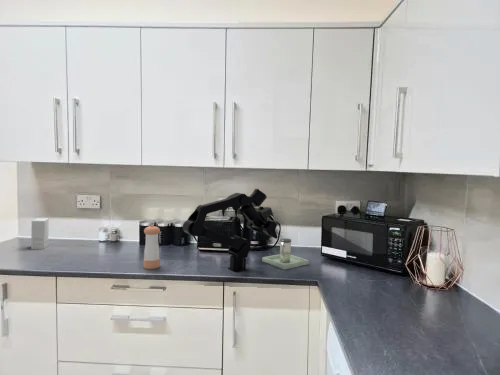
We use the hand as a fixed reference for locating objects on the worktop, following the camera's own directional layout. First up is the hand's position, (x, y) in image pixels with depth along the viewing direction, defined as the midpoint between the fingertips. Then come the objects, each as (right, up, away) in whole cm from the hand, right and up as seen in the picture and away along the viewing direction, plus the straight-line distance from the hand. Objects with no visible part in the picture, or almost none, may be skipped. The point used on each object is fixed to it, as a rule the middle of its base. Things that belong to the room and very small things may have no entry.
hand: (271, 236), depth 159 cm
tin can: (+7, -13, +4) cm, 15 cm away
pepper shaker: (-55, -13, -7) cm, 57 cm away
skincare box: (-125, -10, +23) cm, 127 cm away
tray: (+7, -14, +4) cm, 16 cm away
